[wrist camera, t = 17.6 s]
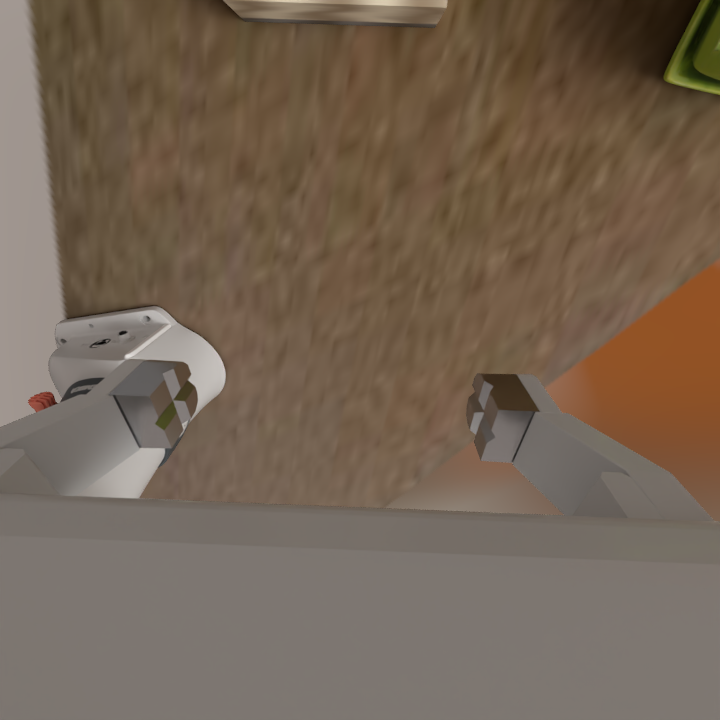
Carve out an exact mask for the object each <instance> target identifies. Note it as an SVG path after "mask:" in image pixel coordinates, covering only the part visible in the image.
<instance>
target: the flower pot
mask: <svg viewBox="0 0 720 720" xmlns="http://www.w3.org/2000/svg"><path fill="white" fill-rule="evenodd" d="M663 79H664V80H665V81H666V82H669V83H671V84H675V85H679V86H683V87H687V88H691V89H695V90H699V91H704V92H708V93H713V94H717V95H720V0H701V1H700V3H699V5H698V7H697V9H696V11H695V13H694V15H693V17H692V18H691V20H690V22H689V24H688V26H687V28H686V30H685V32H684V34H683V36H682V38H681V40H680V42H679V44H678V46H677V48H676V50H675V52H674V54H673V56H672V58H671V60H670V62H669V64H668V66H667V69H666V71H665V73H664V76H663Z"/></svg>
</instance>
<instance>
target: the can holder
mask: <svg viewBox="0 0 720 720" xmlns="http://www.w3.org/2000/svg"><path fill="white" fill-rule="evenodd" d="M223 1H224V2H225V3H226V4H227V5H228V6H229V7H230V8H232V9H233V10H234V11H235V12H236V13H237V14H238V15H239V16H240V17H241V18H242V19H243V20H244V21H247V22H277V23H307V24H336V25H366V26H396V27H426V28H435V27H436V25H437V23H438V21H439V20H440V18H441V16H442V15H443V13H444V11H445V9H446V8H447V0H223Z"/></svg>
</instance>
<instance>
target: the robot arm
mask: <svg viewBox="0 0 720 720" xmlns="http://www.w3.org/2000/svg"><path fill="white" fill-rule="evenodd" d="M147 316H148V317H149V318H150V319H149V318H148V317H147ZM55 339H56V344H57V347H58V349H57V350H56V351H55V352H54V353H53V354H52V355H51V357H50V360H49V372H50V376H51V378H52V381H53V383H54V385H55V387H56V389H57V390H58V392H59V394H60V396H61V397H62V400H61V402H60V403H57V402H55V399H54V396H53V394H52V393H51V392H43V393H40V394H37V395H34V397H31V399H29V400H28V401H29V402H28V403H29V405H30V406H31V407H32V408H34V409H35V411H36V413H34V414H31V415H29V416H26V417H24V418H21V419H19V420H17V421H14V422H12V423H9V424H7V425H4V426H2V427H0V720H720V522H715V521H714V520H713V519H712V518H711V517H710V516H709V515H708V513H707V512H706V511H705V510H704V509H703V508H702V507H701V506H700V505H699V504H698V502H697V501H696V500H695V499H694V498H693V497H692V496H691V495H690V494H689V493H688V491H687V490H686V489H685V488H684V487H683V486H682V485H681V484H680V483H679V482H678V480H677V479H676V478H675V477H674V476H673V475H672V474H671V473H669V472H668V471H666V470H664V469H663V468H661V467H659V466H658V465H656V464H654V463H652V462H651V461H649V460H647V459H645V458H644V457H642V456H640V455H639V454H637V453H635V452H634V451H632V450H630V449H628V448H627V447H625V446H623V445H621V444H620V443H618V442H616V441H615V440H613V439H611V438H610V437H608V436H606V435H604V434H603V433H601V432H599V431H598V430H596V429H594V428H592V427H591V426H589V425H587V424H586V423H584V422H582V421H580V420H579V419H577V418H575V417H574V416H572V415H570V414H568V413H562V412H561V411H560V410H559V408H558V407H557V405H556V404H555V402H554V401H553V400H552V398H551V397H550V395H549V394H548V393H547V391H546V390H545V388H544V387H543V386H542V384H541V383H540V381H539V380H538V379H537V377H536V376H534V375H532V374H482V373H477V374H476V376H475V378H474V381H473V384H472V386H473V388H474V390H475V393H473V394H472V395H471V396H470V397H469V399H468V403H467V411H466V417H467V423H468V426H469V429H470V430H471V431H472V432H473V433H475V434H476V436H475V440H474V443H475V446H476V449H477V451H478V454H479V457H480V460H481V461H494V462H510V463H513V465H514V466H515V467H516V468H517V469H518V470H519V471H520V472H521V473H522V474H523V475H524V476H525V477H526V478H527V479H528V480H529V481H530V482H531V483H532V484H533V485H534V486H535V487H536V488H537V489H538V490H539V491H540V492H541V493H542V494H543V495H544V496H545V497H546V498H547V499H548V500H550V502H552V503H553V504H554V505H555V506H556V507H557V508H558V509H559V510H560V511H561V512H562V513H563V514H564V516H563V515H540V514H539V515H538V514H514V513H490V512H466V511H465V512H463V511H439V510H415V509H414V510H413V509H391V508H366V507H341V506H316V505H291V504H266V503H242V502H217V501H192V500H167V499H142V498H139V497H140V495H141V494H142V492H143V490H144V489H145V487H146V486H147V484H148V482H149V481H150V479H151V477H152V476H153V474H154V473H155V471H156V469H157V468H159V467H160V466H162V465H163V464H164V463H165V462H166V461H167V459H168V458H169V456H170V455H171V454H172V452H173V451H174V449H175V448H176V446H177V445H178V443H179V441H180V440H181V438H182V436H183V434H184V432H185V431H186V428H187V426H188V424H189V423H190V421H191V420H192V419H193V418H194V417H195V416H196V415H197V414H198V412H199V411H200V410H201V409H202V408H203V407H204V406H205V405H206V404H208V403H209V402H210V401H211V400H212V399H213V398H215V397H216V396H217V395H218V394H219V393H220V392H221V390H222V389H223V387H224V384H225V378H226V374H225V368H224V365H223V362H222V360H221V358H220V357H219V355H218V353H217V352H216V351H215V349H214V348H213V347H212V346H211V345H210V344H209V343H208V342H207V341H206V340H204V339H203V338H202V337H201V336H199V335H198V334H196V333H194V332H193V331H191V330H189V329H187V328H185V327H183V326H182V325H180V324H179V323H177V322H176V321H175V320H174V319H173V318H172V317H171V316H170V315H169V314H168V313H167V312H166V311H165V310H163V309H162V308H160V307H157V306H151V307H144V308H138V309H131V310H125V311H118V312H112V313H105V314H99V315H93V316H86V317H80V318H73V319H67V320H63V321H61V322H60V323H58V324H57V325H56V329H55Z"/></svg>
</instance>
